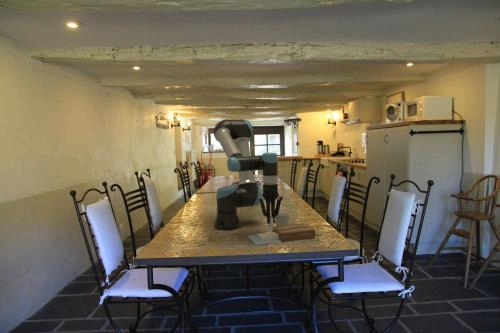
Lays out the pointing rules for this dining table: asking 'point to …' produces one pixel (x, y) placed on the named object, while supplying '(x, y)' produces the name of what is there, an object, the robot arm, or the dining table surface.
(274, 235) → the beige flat block
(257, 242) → the mat
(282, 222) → the cup
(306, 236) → the block
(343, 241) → the dining table surface
